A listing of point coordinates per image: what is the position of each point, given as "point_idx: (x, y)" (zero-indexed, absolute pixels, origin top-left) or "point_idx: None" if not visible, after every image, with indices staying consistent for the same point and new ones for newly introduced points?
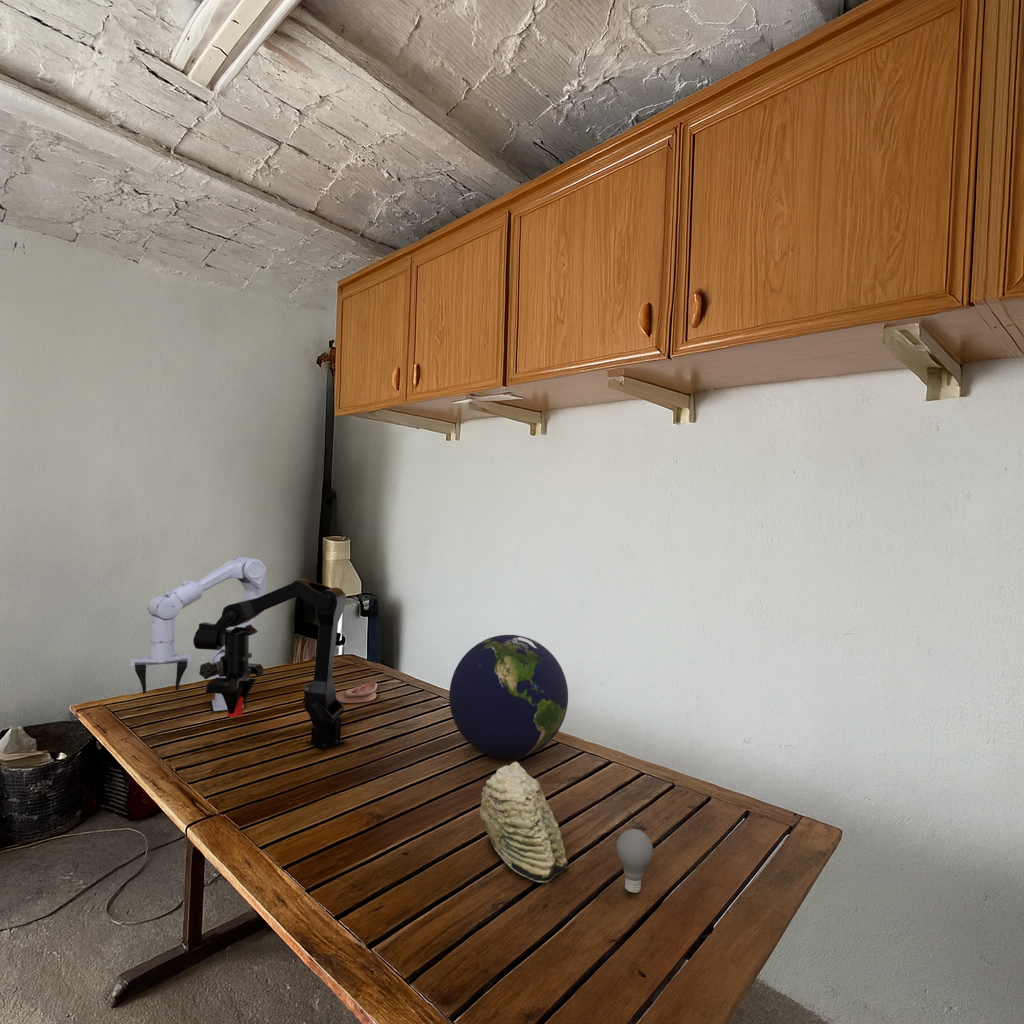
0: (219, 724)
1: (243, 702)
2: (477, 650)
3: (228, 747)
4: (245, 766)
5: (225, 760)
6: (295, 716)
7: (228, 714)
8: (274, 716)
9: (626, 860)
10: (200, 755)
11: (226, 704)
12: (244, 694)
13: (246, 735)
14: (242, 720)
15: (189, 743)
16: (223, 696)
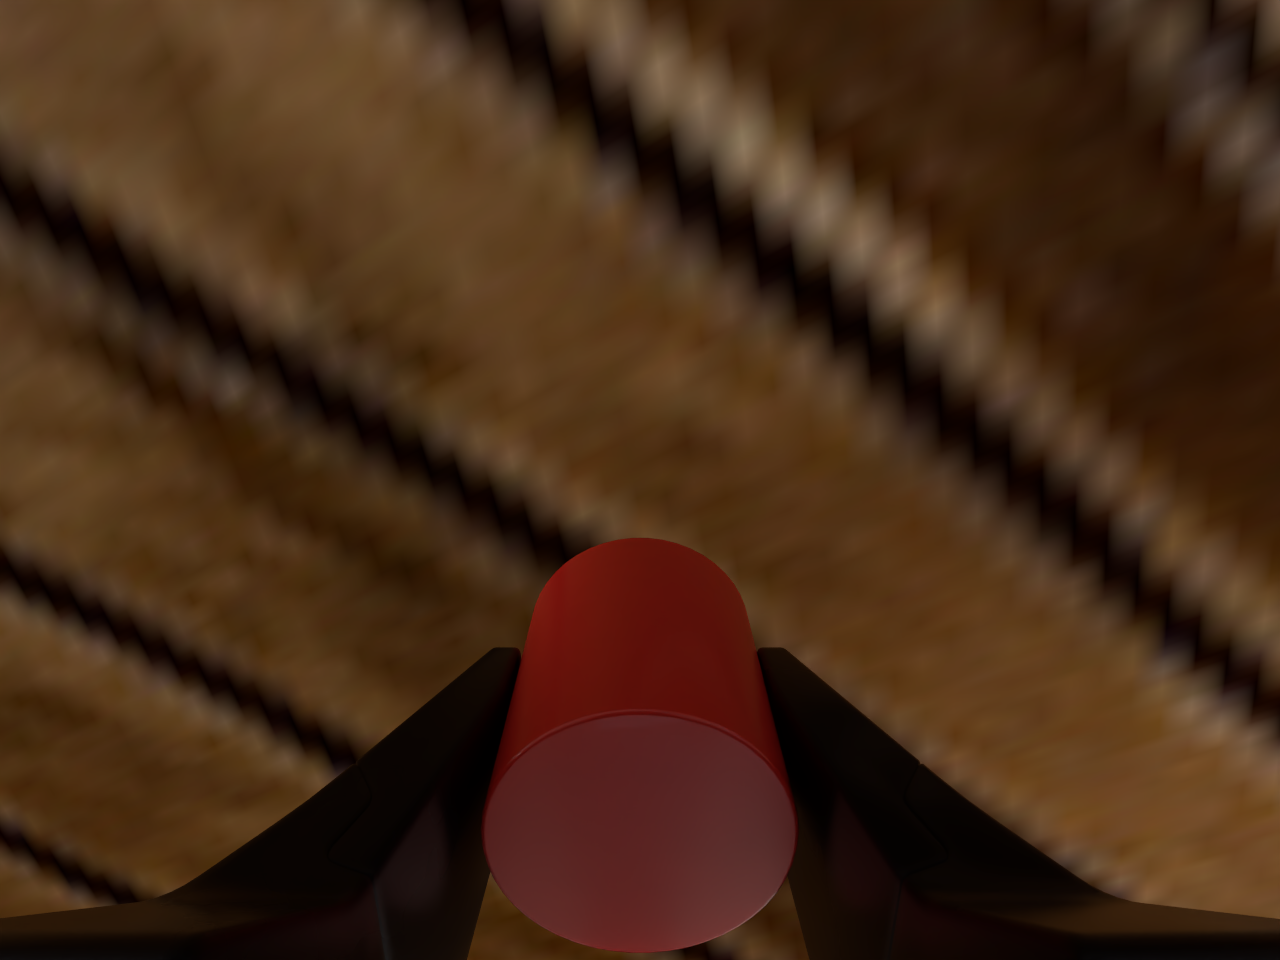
0: (997, 140)
1: None
2: None
3: (353, 585)
4: (69, 859)
5: (93, 690)
6: (1235, 799)
7: (540, 601)
8: (1256, 629)
9: None
10: (85, 435)
11: (398, 735)
12: (815, 955)
13: None
14: (1142, 358)
15: (315, 123)
16: (219, 874)
